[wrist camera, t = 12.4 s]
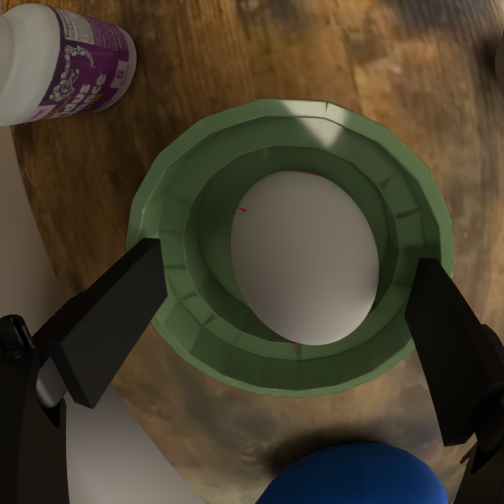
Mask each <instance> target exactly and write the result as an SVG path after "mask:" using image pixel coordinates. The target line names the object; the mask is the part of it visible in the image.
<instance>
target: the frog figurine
mask: <svg viewBox="0 0 504 504" xmlns="http://www.w3.org/2000/svg"><path fill="white" fill-rule="evenodd" d="M495 71H496V77H497V81H498V84H499V86H500V89H501V91H502V93H503V95H504V31H503V36H502V41H501V42H500V44H499V46H498V49H497V51H496V57H495Z"/></svg>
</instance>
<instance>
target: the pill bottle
mask: <svg viewBox="0 0 504 504" xmlns="http://www.w3.org/2000/svg"><path fill="white" fill-rule="evenodd" d="M136 62H137V57H136V49H135V45H134V42H133V40H132V39H131V37H130V35H129V34H128V33H127V32H126V31H125V30H123V29H122V28H120V27H118V26H116V25H113V24H110V23H107V22H104V21H101V20H98V19H95V18H92V17H88V16H85V15H81V14H78V13H75V12H70V11H67V10H63V9H59V8H55V7H51V6H47V5H43V4H36V3H28V4H22V5H19V6H17V7H15V8H12V9H11V10H9V11H7V12H6V13H5V14H3V15H1V14H0V126H10V125H16V124H21V123H26V122H32V121H37V120H44V119H50V118H58V117H65V116H71V115H79V114H86V113H94V112H99V111H102V110H104V109H106V108H108V107H110V106H112V105H113V104H114V103H115V102H117V101H118V100H119V99H120V98H121V97H122V96H123V95H124V93H125V92H126V91H127V89H128V87H129V85H130V84H131V81H132V78H133V76H134V73H135V69H136Z"/></svg>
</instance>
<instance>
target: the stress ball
mask: <svg viewBox="0 0 504 504" xmlns="http://www.w3.org/2000/svg"><path fill="white" fill-rule="evenodd" d="M230 255H231V262H232V267H233V271H234V275H235V278H236V281H237V284H238V286H239V288H240V291H241V293H242V295H243V297H244V298H245V300H246V302H247V303H248V305H249V306H250V308H251V309H252V311H253V312H254V313H255V314H256V316H257V317H258V318H259V319H260V320H261V321H262V322H263V323H264V324H265V325H266V326H268V327H269V328H270V329H271V330H273V331H274V332H276V333H277V334H279V335H280V336H282V337H284V338H286V339H288V340H291V341H294V342H295V346H296V344H297V343H301V344H306V345H323V344H329V343H332V342H335V341H338V340H340V339H342V338H344V337H346V336H347V335H349V334H350V333H351V332H353V331H354V330H355V329H356V328H357V327H358V326H359V325H360V324H361V323H362V321H363V320H364V319H365V317H366V316H367V314H368V312H369V310H370V308H371V306H372V304H373V301H374V299H375V295H376V291H377V286H378V280H379V261H378V253H377V247H376V243H375V240H374V236H373V234H372V231H371V228H370V226H369V224H368V222H367V220H366V218H365V216H364V214H363V213H362V211H361V210H360V208H359V207H358V205H357V204H356V203H355V202H354V200H353V199H352V198H351V197H350V196H349V195H348V194H347V193H346V192H345V191H344V190H343V189H342V188H340V187H339V186H338V185H336V184H335V183H334V182H332V181H330V180H329V179H327V178H325V177H323V176H321V175H318V174H315V173H312V172H308V171H303V170H284V171H279V172H276V173H273V174H270V175H267V176H266V177H264V178H263V179H261V180H259V181H258V182H256V183H255V184H254V185H253V186H252V187H251V188H250V189H249V190H248V191H247V193H246V194H245V195H244V197H243V198H242V200H241V202H240V204H239V205H238V207H237V210H236V212H235V215H234V218H233V222H232V227H231V234H230ZM229 261H230V260H229ZM295 346H294V349H295ZM293 351H294V350H293Z"/></svg>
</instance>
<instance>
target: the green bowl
mask: <svg viewBox="0 0 504 504" xmlns="http://www.w3.org/2000/svg"><path fill="white" fill-rule="evenodd" d="M284 170H303V171H308V172H312V173H315V174H318V175H321V176H323V177H325V178H327V179H329V180H330V181H332V182H334V183H335V184H336V185H338V186H339V187H340V188H342V189H343V190H344V191H345V192H346V193H347V194H348V195H349V196H350V197H351V198H352V199H353V200H354V202H355V203H356V204H357V205H358V207H359V208H360V210H361V211H362V213H363V214H364V216H365V218H366V220H367V222H368V224H369V226H370V228H371V231H372V234H373V236H374V240H375V243H376V247H377V253H378V261H379V280H378V286H377V291H376V295H375V299H374V301H373V304H372V306H371V308H370V310H369V312H368V314H367V316H366V317H365V319H364V320H363V321H362V323H361V324H360V325H359V326H358V327H357V328H356V329H355V330H354V331H353V332H351V333H350V334H349V335H347V336H346V337H344V338H342V339H340V340H338V341H335V342H332V343H329V344H323V345H306V344H301V343H297V344H296V346H295V342H294V341H291V340H288V339H286V338H284V337H282V336H280V335H279V334H277V333H276V332H274V331H273V330H271V329H270V328H269V327H268V326H266V325H265V324H264V323H263V322H262V321H261V320H260V319H259V318H258V317H257V316H256V314H255V313H254V312H253V311H252V309H251V308H250V306H249V305H248V303H247V302H246V300H245V298H244V297H243V295H242V293H241V291H240V288H239V286H238V284H237V281H236V278H235V275H234V271H233V267H232V262H231V255H230V234H231V227H232V222H233V218H234V215H235V212H236V210H237V207H238V205H239V204H240V202H241V200H242V198H243V197H244V195H245V194H246V193H247V191H248V190H249V189H250V188H251V187H252V186H253V185H254V184H255V183H256V182H258V181H259V180H261V179H263V178H264V177H266V176H267V175H270V174H273V173H276V172H279V171H284ZM143 238H158V239H160V242H161V250H162V258H163V266H164V273H165V280H166V287H167V293H168V296H167V298H166V299H165V301H164V302H163V304H162V305H161V307H160V308H159V309H158V311H157V312H156V314H155V315H154V317H153V318H152V320H151V321H150V323H151V325H152V327H154V329H155V331H156V332H157V333H158V334H159V335H160V336H161V337H162V338H163V339H164V340H165V341H166V342H167V343H168V344H169V345H170V347H171V348H172V349H173V350H174V351H175V352H176V353H177V354H178V355H179V356H180V357H181V358H183V359H184V360H185V361H187V362H188V363H190V364H191V365H193V366H194V367H196V368H198V369H199V370H201V371H202V372H204V373H205V374H207V375H209V376H210V377H212V378H214V379H215V380H218V381H220V382H222V383H225V384H228V385H231V386H234V387H237V388H240V389H243V390H246V391H249V392H252V393H255V394H261V395H270V396H280V397H292V398H303V397H311V396H318V395H326V394H332V393H338V392H342V391H345V390H348V389H350V388H353V387H355V386H358V385H360V384H363V383H365V382H368V381H370V380H373V379H375V378H377V377H378V376H380V375H382V374H383V373H385V372H386V371H387V370H389V369H390V368H391V367H393V366H394V365H395V364H397V363H398V362H399V361H401V360H402V359H403V358H405V357H406V356H407V355H409V354H410V353H411V352H412V351H413V350H414V349H415V348H416V347H415V344H414V341H413V338H412V335H411V333H410V330H409V327H408V325H407V322H406V319H405V317H404V313H405V310H406V307H407V303H408V300H409V297H410V293H411V289H412V286H413V282H414V278H415V275H416V271H417V267H418V263H419V258H420V257H423V258H435V259H437V260H438V262H439V263H440V264H441V266H442V267H443V268H444V270H445V271H446V273H447V274H448V275H449V277H450V278H451V279H452V275H453V270H454V258H453V230H452V222H451V217H450V215H449V212H448V210H447V207H446V205H445V202H444V200H443V198H442V195H441V193H440V191H439V188H438V186H437V184H436V181H435V179H434V177H433V175H432V173H431V172H430V170H429V168H428V167H427V166H426V165H425V164H424V163H423V162H422V161H421V160H420V159H419V158H418V157H417V156H416V155H415V154H414V153H413V152H412V151H411V150H410V149H409V148H408V147H407V146H406V145H405V144H404V143H403V142H402V141H401V140H400V139H399V138H398V137H397V136H396V135H395V134H394V133H393V132H392V131H391V130H390V129H388V128H387V127H386V126H384V125H382V124H380V123H378V122H376V121H373V120H371V119H369V118H367V117H365V116H362V115H360V114H358V113H356V112H353V111H351V110H349V109H346V108H344V107H342V106H339V105H337V104H334V103H332V102H327V101H322V100H306V99H283V98H263V99H257V100H254V101H250V102H247V103H244V104H241V105H238V106H235V107H232V108H229V109H226V110H223V111H220V112H217V113H215V114H212V115H209V116H206V117H204V118H202V119H200V120H198V121H197V122H196V123H195V124H193V125H192V126H191V127H190V128H189V129H187V130H186V131H185V132H184V133H182V134H181V135H180V136H179V137H178V138H176V139H175V140H174V141H173V142H172V143H171V144H169V145H168V146H167V147H166V148H165V149H164V150H162V151H161V152H160V153H159V154H158V156H157V157H156V158H155V160H154V162H153V163H152V165H151V167H150V169H149V170H148V172H147V174H146V176H145V178H144V179H143V181H142V183H141V185H140V187H139V189H138V190H137V192H136V194H135V196H134V198H133V201H132V204H131V210H130V216H129V223H128V230H127V237H126V244H125V246H126V247H125V250H126V253H127V252H128V251H129V250H130V249H131V248H133V247H134V246H135V245H136V244H137V243H138V242H139V241H140V240H142V239H143ZM229 260H230V261H229ZM294 346H295V349H294ZM293 350H294V351H293Z"/></svg>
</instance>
